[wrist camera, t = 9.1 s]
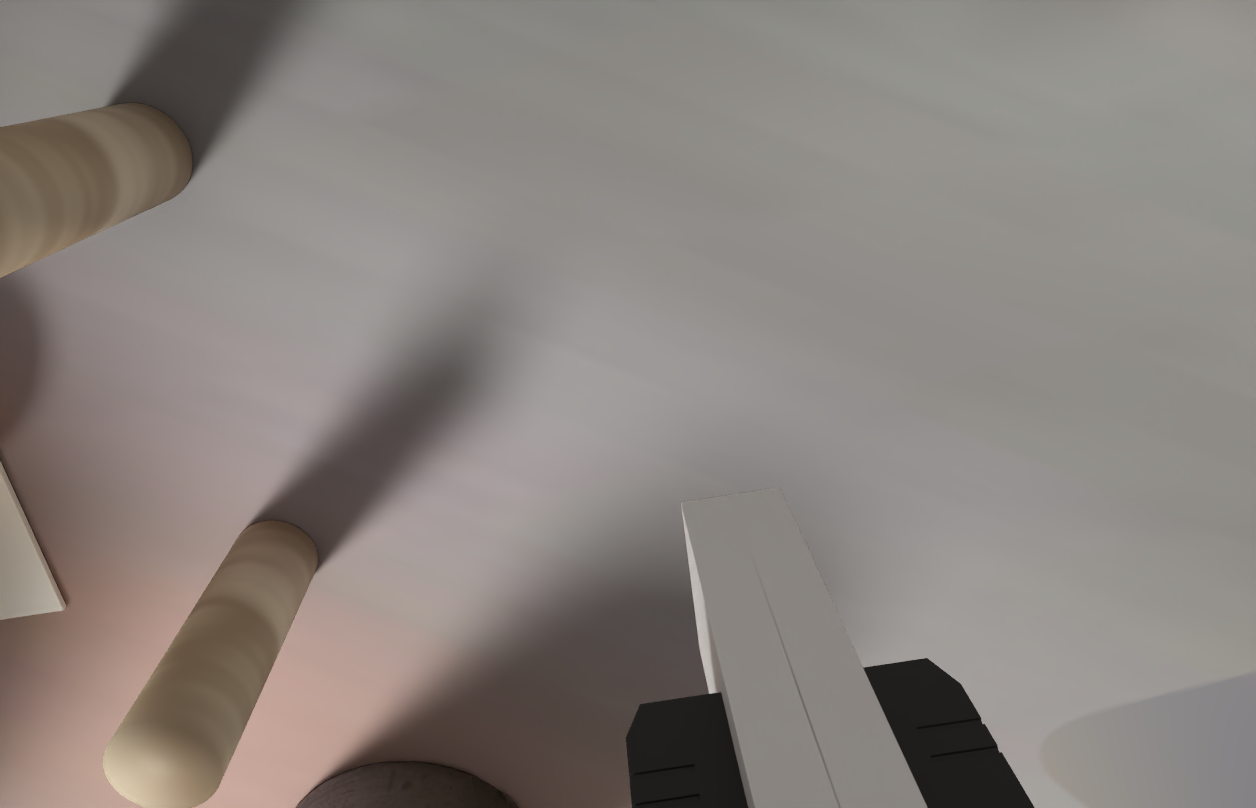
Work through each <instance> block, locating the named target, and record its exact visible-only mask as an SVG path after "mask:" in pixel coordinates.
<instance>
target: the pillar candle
mask: <svg viewBox="0 0 1256 808" xmlns="http://www.w3.org/2000/svg"><path fill="white" fill-rule="evenodd" d="M296 808H517V807H516V805H515V804H514V803H513V802H512V800H511V799H510V798H509V797H507V796H506V795H504V794H503V793H501V792H500V791H498V790H497V789H496V788H494V787H493V786H491V785H489V784H488V783H485V782H483V781H481V780H479V779H477V778H476V777H474V776H471V775H469V774H466V773H464V772H460V771H456V770H453V769H450V768H447V767H443V766H439V765H434V764H427V763H417V762H398V763H392V762H385V763H379V764H371V765H367V766H362V767H359V768H357V769H353V770H351V771H346V772H344V773H342V774H340V775H338V776H337V777H335V778H332V779H330V780H328V781H326V782H324V783H323V784H321V785H320V786H319V787H317V788H316V789H314V790H313V791H312V792H311V793H310V794H308V795H307V796H306V797H305V798H304V799H303V800H302V801H301V802H300V803H299V804H298V806H297V807H296Z"/></svg>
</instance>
